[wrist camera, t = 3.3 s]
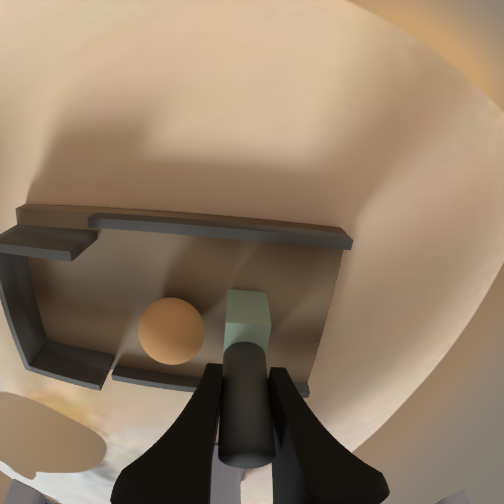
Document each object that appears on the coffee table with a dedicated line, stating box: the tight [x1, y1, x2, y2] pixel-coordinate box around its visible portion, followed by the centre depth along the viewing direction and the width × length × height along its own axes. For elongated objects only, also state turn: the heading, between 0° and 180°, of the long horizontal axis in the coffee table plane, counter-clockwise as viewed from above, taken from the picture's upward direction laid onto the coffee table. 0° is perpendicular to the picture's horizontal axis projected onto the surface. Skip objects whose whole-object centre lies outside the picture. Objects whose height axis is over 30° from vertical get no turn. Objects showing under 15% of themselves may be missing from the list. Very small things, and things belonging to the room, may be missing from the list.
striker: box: [218, 289, 276, 469], centre depth 13 cm, size 4×2×8 cm, turn 174°
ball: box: [138, 298, 205, 365], centre depth 15 cm, size 4×4×4 cm
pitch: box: [0, 204, 353, 398], centre depth 16 cm, size 11×19×4 cm, turn 84°
